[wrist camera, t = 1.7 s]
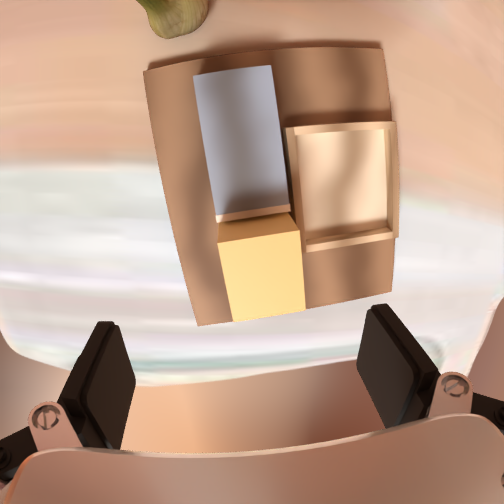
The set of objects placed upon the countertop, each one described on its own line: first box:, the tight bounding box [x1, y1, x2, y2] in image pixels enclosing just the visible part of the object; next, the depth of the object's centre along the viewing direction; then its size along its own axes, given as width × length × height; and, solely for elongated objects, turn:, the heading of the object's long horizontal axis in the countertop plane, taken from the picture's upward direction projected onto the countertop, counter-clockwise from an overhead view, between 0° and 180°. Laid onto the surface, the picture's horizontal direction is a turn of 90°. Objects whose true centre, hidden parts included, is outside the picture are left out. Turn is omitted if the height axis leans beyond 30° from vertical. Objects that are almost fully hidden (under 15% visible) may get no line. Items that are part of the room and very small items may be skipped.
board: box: [143, 47, 399, 326], centre depth 27 cm, size 22×26×4 cm
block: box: [217, 212, 306, 322], centre depth 27 cm, size 6×7×6 cm
